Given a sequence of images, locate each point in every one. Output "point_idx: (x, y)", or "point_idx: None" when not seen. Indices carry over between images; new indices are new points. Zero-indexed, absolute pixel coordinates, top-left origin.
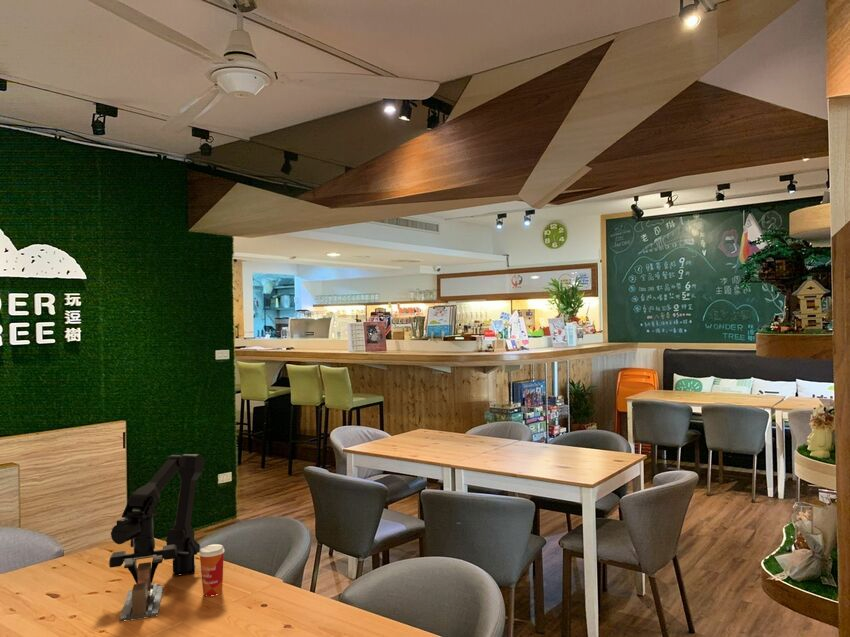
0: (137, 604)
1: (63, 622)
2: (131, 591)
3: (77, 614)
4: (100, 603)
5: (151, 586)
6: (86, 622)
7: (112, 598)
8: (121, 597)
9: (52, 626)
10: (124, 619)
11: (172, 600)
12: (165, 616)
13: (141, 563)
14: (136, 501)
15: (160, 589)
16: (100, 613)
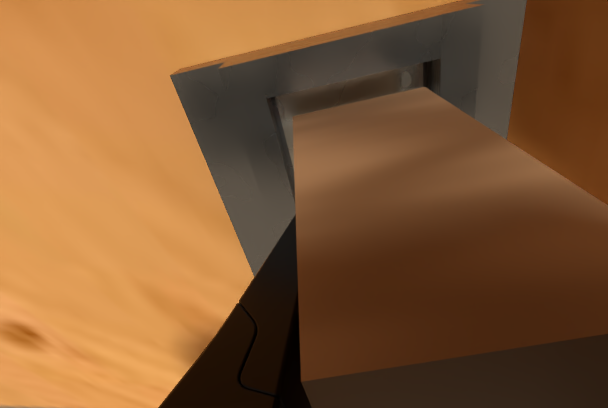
0: None
1: (31, 373)
2: (214, 106)
3: (27, 322)
4: (51, 216)
5: (409, 61)
6: (152, 380)
7: (82, 145)
8: (154, 138)
9: (12, 392)
10: None
11: None
12: None
13: (393, 376)
14: None
15: (493, 108)
16: (161, 325)
